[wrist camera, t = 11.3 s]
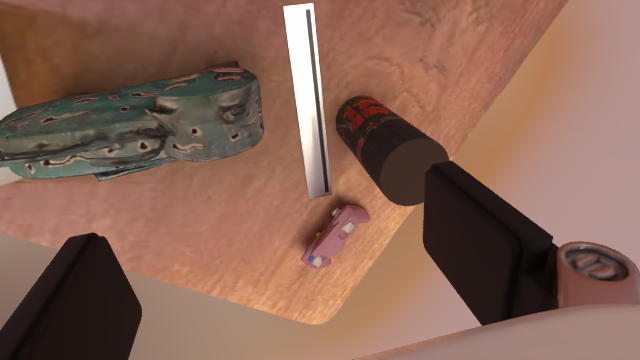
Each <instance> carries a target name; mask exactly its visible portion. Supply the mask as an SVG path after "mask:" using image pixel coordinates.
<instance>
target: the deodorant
mask: <svg viewBox="0 0 640 360" xmlns="http://www.w3.org/2000/svg"><path fill="white" fill-rule="evenodd" d="M336 128H337V131H338V133H339V135H340V137H341V138H342V140H343V141H344V142H345V144H346V145H347V146H348V148H349V149H350V150H351V152H352V153H353V154H354V155H355V157H356V158H357V159H358V161H359V162H360V163H361V165H362V166H363V167H364V169H365V170H366V171H367V173H368V174H369V175H370V177H371V178H372V179H373V181H374V182H375V183H376V185H377V186H378V187H379V189H380V190H381V191H382V193H383V194H384V195H385V196H386V197H387V198H388V199H389V200H390V201H391V202H393V203H395V204H397V205H402V206H414V205H417V204H420V203H423V202H424V191H425V173H426V171H427V170H429V169H430V167H431V165H432V164H435V163H440V162H445V161H449V157H448V154H447V152H446V150H445V149H444V148H443V146H442V145H440V144H439V143H437V142H436V141H434V140H433V139H432V138H430V137H429V136H427V135H426V134H424V133H423V132H421V131H420V130H418V129H417V128H416V127H414V126H413V125H411V124H410V123H408V122H407V121H405V120H404V119H402V118H401V117H399V116H398V115H397V114H395V113H394V112H392V111H391V110H389V109H388V108H386V107H385V106H383V105H382V104H381V103H379V102H378V101H376V100H375V99H373V98H371V97H368V96H357V97H353V98H351V99H350V100H348V101H347V102H345V103H344V104H343V105H342V107H341V108H340V110H339V111H338V114H337V117H336Z"/></svg>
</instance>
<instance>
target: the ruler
mask: <svg viewBox="0 0 640 360" xmlns="http://www.w3.org/2000/svg"><path fill="white" fill-rule="evenodd" d="M283 10H284V17H285V25H286V32H287V40H288V47H289V55H290V62H291V69H292V77H293V84H294V92H295V99H296V107H297V114H298V121H299V129H300V136H301V144H302V151H303V159H304V166H305V173H306V181H307V188H308V196H309V199H312V198H317V197H323V196H328V195H332V190H331V180H330V170H329V159H328V149H327V139H326V129H325V119H324V109H323V99H322V88H321V78H320V68H319V58H318V48H317V38H316V28H315V17H314V7H313V3H308V4H299V5H291V6H283Z"/></svg>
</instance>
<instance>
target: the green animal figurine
mask: <svg viewBox="0 0 640 360" xmlns="http://www.w3.org/2000/svg"><path fill="white" fill-rule="evenodd" d="M263 134H264V126H263V119H262V110H261V98H260V87H259V83H258V80H257V77H256V76H255V75H254V74H252V73H250V72H249V71H247V70H245V69H242V68H239V66H238V62H237V61H234V62H228V63H222V64H216V65H212V66H210V67H208V68H206V69H204V70H202V71H200V72H197V73H194V74H189V75H184V76H180V77H175V78H169V79H164V80H160V81H155V82H151V83H146V84H141V85H136V86H131V87H126V88H121V89H115V90H111V91H106V92H100V93H95V94H74V95H71V96H66V97H64V98H61V99H58V100H53V101H49V102H44V103H40V104H36V105H32V106H27V107H23V108H20V109H17V110H16V111H14V112H12V113H11V114H9V115H7V116H5V117H4V118H3V119H2V120H0V159H1V160H0V167H9V168H10V169H11V171H12V172H14V173H15V174H17V175H19V176H22V177H28V178H39V179H53V178H62V177H73V176H83V175H89V174H94V175H95V176H96V177H97V179H98V182H99V181H103V180H107V179H111V178H115V177H119V176H122V175H126V174H129V173H134V172H139V171H143V170H147V169H150V168H153V167H156V166H159V165H162V164H165V163H170V162H175V161H178V160H186V161H195V162H203V161H213V160H218V159H223V158H226V157H229V156H233V155H236V154H238V153H241V152H243V151H246V150H248V149H250V148H252V147H254V146H255V145H257V144H258V143H259V142H260V141H261V139H262V136H263Z"/></svg>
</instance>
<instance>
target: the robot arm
mask: <svg viewBox="0 0 640 360" xmlns="http://www.w3.org/2000/svg"><path fill="white" fill-rule="evenodd" d="M423 223H424V224H423V243H424V247H425V249H426V251H427V253H428V254H429V255H430V257H431V258H432V259H433V261H434V262H435V263H436V265H437V266H438V267H439V269H440V270H441V271H442V273H443V274H444V275H445V276H446V278H447V279H448V281H449V282H450V283H451V285H452V286H453V287H454V289H455V290H456V291H457V293H458V294H459V295H460V297H461V298H462V299H463V301H464V302H465V303H466V305H467V306H468V308H469V309H470V310H471V312H472V313H473V314H474V316H475V317H476V318H477V320H478V321H479V322H480V324H481V325H482V326H480V327H476V328H472V329H468V330H464V331H460V332H456V333H453V334H449V335H445V336H441V337H437V338H434V339H430V340H426V341H422V342H418V343H414V344H411V345H407V346H403V347H399V348H395V349H392V350H388V351H384V352H380V353H376V354H372V355H369V356H365V357H361V358H357V359H353V360H640V272H639V270H638V269H637V267H636V265H635V264H634V263H633V262H632V261H631V260H630V259H629V258H628V257H626V256H625V255H623V254H621V253H620V252H618V251H616V250H613V249H611V248H609V247H606V246H603V245H600V244H596V243H590V242H581V241H580V242H570V243H567V244H564V245H562V246H561V247H560V248H559V247H557V246H556V245H555V244H553V243H552V240H553V236H551V235H550V234H549V233H547V232H546V231H545V230H543V229H542V228H541V227H539V226H538V225H537V224H535V223H534V222H533V221H531V220H530V219H529V218H527V217H526V216H525V215H523V214H522V213H521V212H519V211H518V210H517V209H515V208H514V207H513V206H511V205H510V204H509V203H507V202H506V201H505V200H503V199H502V198H501V197H499V196H498V195H497V194H495V193H494V192H493V191H491V190H490V189H489V188H487V187H486V186H485V185H483V184H482V183H481V182H479V181H478V180H477V179H475V178H474V177H473V176H471V175H470V174H469V173H467V172H466V171H465V170H463V169H462V168H461V167H459V166H458V165H457V164H455V163H454V162H453V161H445V162H440V163H435V164H432V165H431V167H430V169H429V170H427V171H426V173H425V191H424V221H423ZM141 317H142V309H141V305H140V303H139V301H138V299H137V297H136V295H135V293H134V291H133V289H132V287H131V285H130V283H129V281H128V279H127V278H126V275H125V274H124V272H123V270H122V268H121V266H120V264H119V262H118V260H117V258H116V256H115V254H114V252H113V250H112V248H111V246H110V244H109V243H108V241H107V239H106V238H105V237H103V236H100V237H99V235H97V234H96V233H89V234H84V235H79V236H74V237H70V238H69V239H68V240H67V241H66V242H65V243H64V245H63V246H62V248H61V249H60V250H59V252H58V253H57V254H56V256H55V257H54V258H53V260H52V261H51V262H50V264H49V265H48V266H47V268H46V269H45V271H44V272H43V273H42V275H41V276H40V277H39V279H38V280H37V281H36V283H35V284H34V286H33V287H32V288H31V290H30V291H29V292H28V294H27V295H26V296H25V298H24V299H23V300H22V302H21V303H20V305H19V306H18V307H17V309H16V310H15V311H14V313H13V314H12V315H11V317H10V318H9V319H8V321H7V322H6V324H5V325H4V326H3V328H2V329H1V330H0V360H128V358H129V355H130V352H131V349H132V346H133V343H134V339H135V336H136V333H137V330H138V327H139V324H140V321H141Z"/></svg>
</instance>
